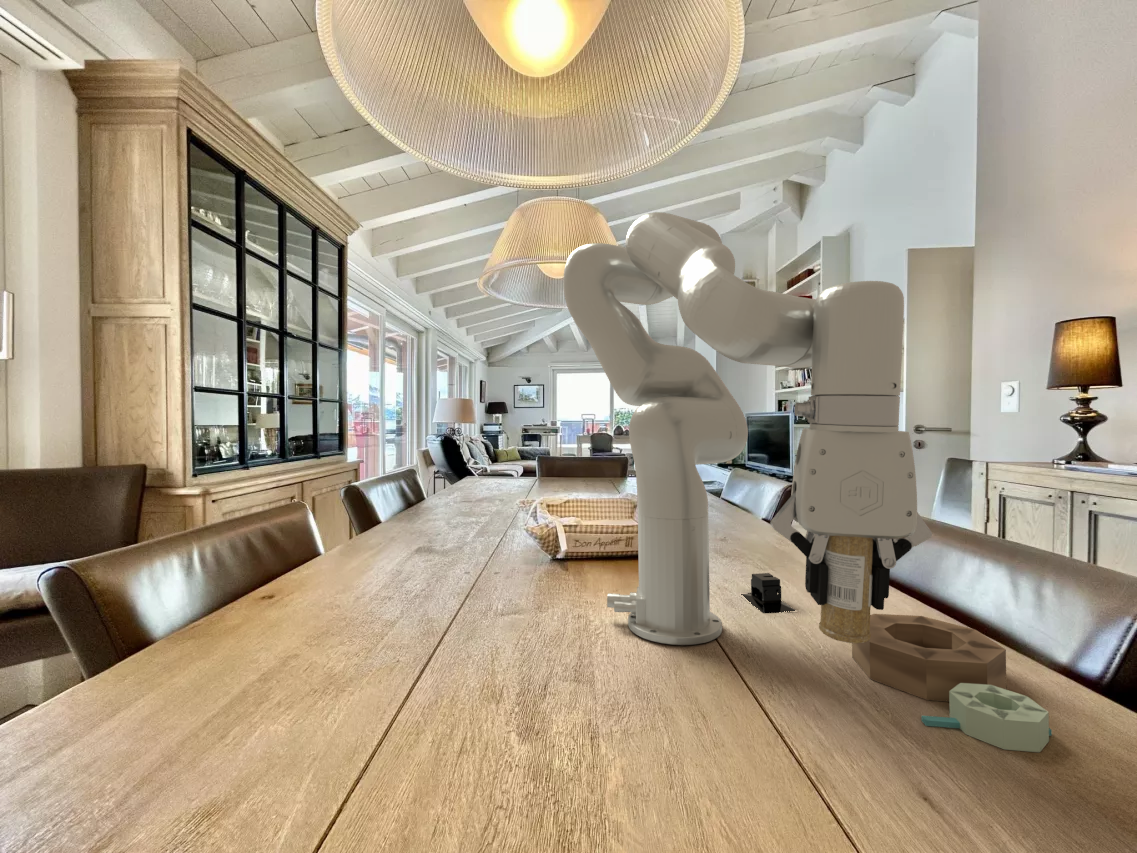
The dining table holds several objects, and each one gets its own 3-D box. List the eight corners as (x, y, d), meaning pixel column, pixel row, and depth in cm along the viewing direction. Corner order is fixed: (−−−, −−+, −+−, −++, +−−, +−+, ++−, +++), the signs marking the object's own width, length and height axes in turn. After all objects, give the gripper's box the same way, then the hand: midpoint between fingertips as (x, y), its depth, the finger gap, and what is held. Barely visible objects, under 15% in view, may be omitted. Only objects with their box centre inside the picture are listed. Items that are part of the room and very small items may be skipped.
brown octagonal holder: (885, 696, 53) (884, 657, 53) (841, 644, 65) (840, 612, 65) (1032, 707, 50) (1031, 666, 50) (956, 650, 63) (956, 617, 63)
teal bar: (925, 725, 47) (925, 720, 47) (921, 720, 48) (921, 715, 48) (1051, 735, 46) (1051, 729, 46) (1045, 730, 46) (1045, 724, 46)
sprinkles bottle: (879, 638, 50) (886, 500, 50) (854, 649, 48) (861, 504, 47) (833, 621, 54) (839, 492, 54) (808, 631, 52) (813, 496, 51)
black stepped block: (809, 618, 75) (809, 587, 76) (761, 621, 75) (761, 589, 75) (768, 592, 88) (768, 565, 88) (726, 594, 87) (726, 567, 87)
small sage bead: (978, 747, 44) (978, 717, 44) (939, 707, 51) (938, 681, 51) (1065, 754, 43) (1065, 724, 43) (1014, 712, 49) (1013, 686, 49)
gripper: (768, 414, 48) (762, 609, 49) (974, 418, 45) (963, 626, 46) (754, 413, 55) (748, 582, 56) (930, 416, 52) (921, 595, 53)
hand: (845, 600), depth 51 cm, fingers closed on sprinkles bottle, 4 cm apart
